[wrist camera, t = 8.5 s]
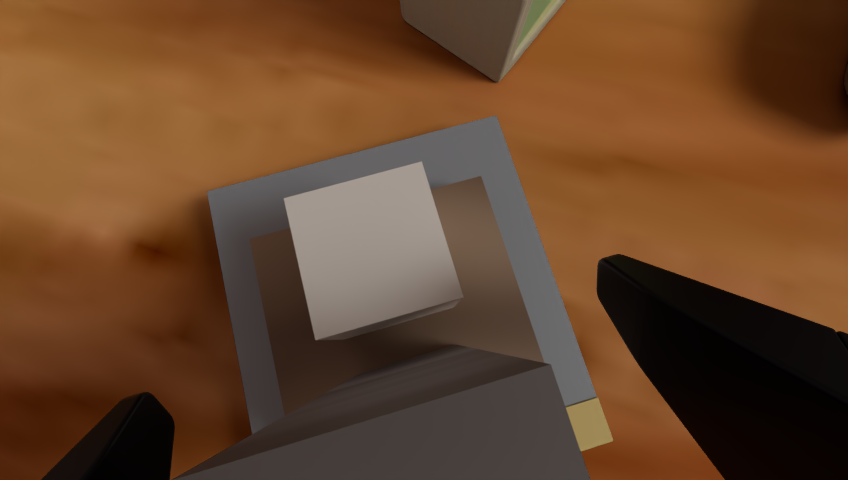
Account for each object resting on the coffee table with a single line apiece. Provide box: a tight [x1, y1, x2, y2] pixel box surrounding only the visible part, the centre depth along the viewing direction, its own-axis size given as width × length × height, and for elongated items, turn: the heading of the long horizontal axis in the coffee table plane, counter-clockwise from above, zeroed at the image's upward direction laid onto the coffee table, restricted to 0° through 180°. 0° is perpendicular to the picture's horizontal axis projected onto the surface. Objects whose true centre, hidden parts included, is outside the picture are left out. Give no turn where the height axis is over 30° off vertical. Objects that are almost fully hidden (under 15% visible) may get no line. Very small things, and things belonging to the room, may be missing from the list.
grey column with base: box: [173, 176, 590, 480], centre depth 10 cm, size 10×9×13 cm
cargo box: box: [284, 161, 463, 340], centre depth 13 cm, size 4×4×4 cm
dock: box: [207, 116, 613, 451], centre depth 18 cm, size 14×13×3 cm
